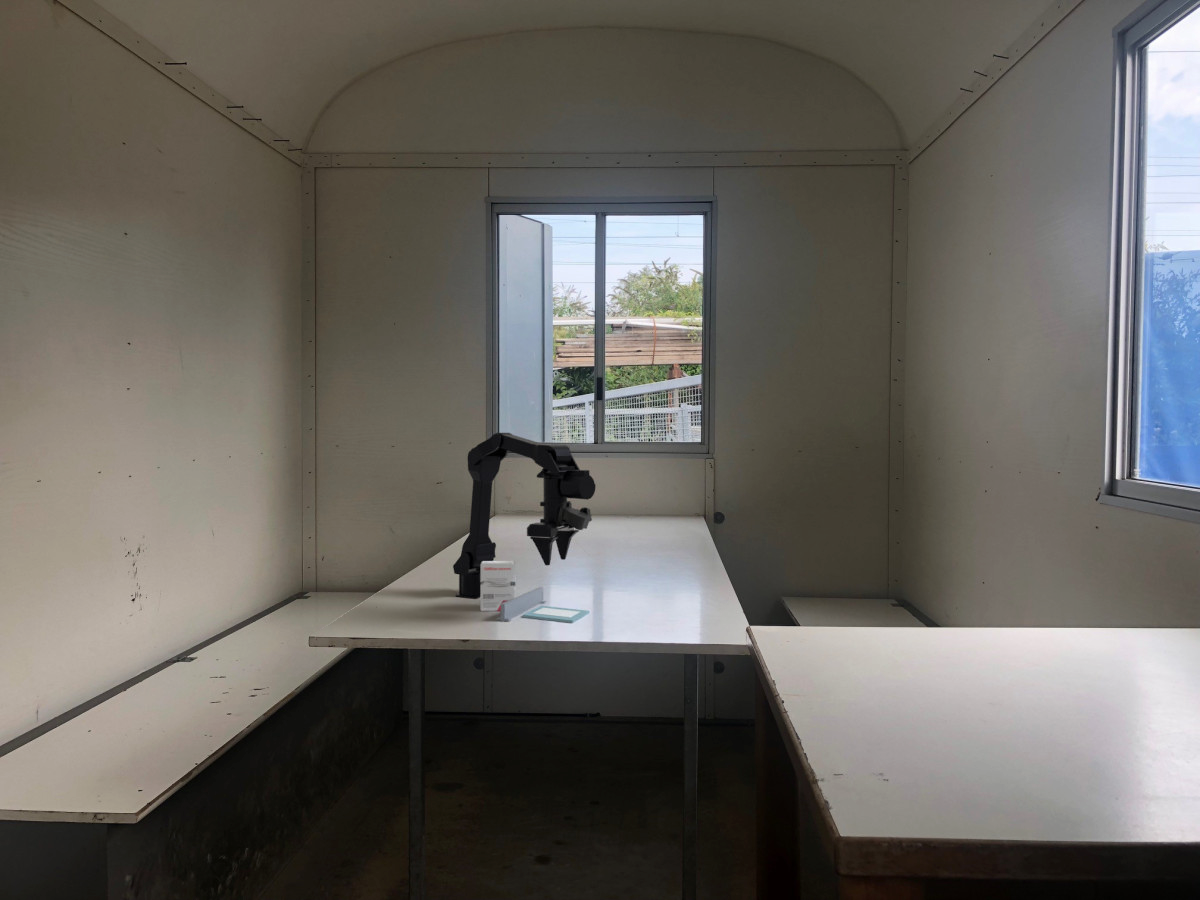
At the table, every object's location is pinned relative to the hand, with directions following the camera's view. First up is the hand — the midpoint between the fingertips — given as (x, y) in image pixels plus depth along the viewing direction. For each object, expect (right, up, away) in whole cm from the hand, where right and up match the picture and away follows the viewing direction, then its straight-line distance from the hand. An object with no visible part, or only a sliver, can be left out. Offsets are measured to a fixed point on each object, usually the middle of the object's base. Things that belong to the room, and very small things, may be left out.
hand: (555, 562), depth 179 cm
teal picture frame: (0, -13, 0) cm, 13 cm away
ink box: (-15, -13, +6) cm, 20 cm away
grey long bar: (-8, -13, +4) cm, 16 cm away
